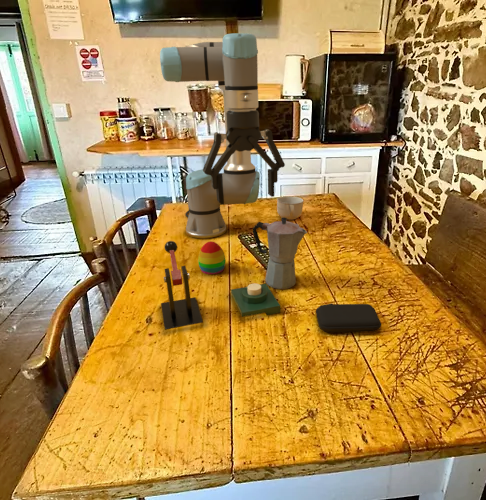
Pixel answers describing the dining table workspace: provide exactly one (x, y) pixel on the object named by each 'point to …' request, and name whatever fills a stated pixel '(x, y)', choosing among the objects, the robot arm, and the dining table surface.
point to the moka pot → (280, 251)
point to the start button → (254, 289)
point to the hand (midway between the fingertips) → (245, 198)
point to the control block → (255, 301)
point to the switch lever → (174, 263)
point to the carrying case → (347, 318)
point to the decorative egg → (211, 258)
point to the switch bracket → (180, 305)
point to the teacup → (289, 207)
